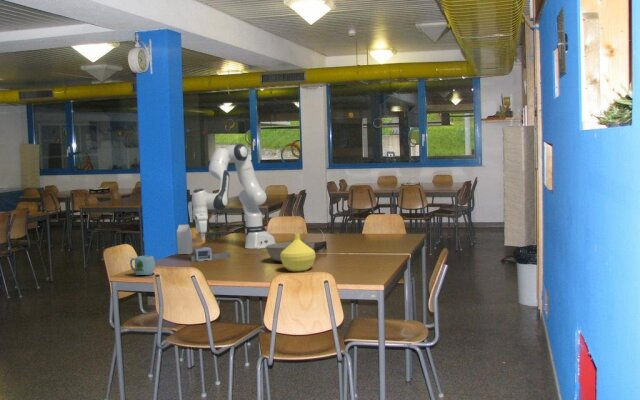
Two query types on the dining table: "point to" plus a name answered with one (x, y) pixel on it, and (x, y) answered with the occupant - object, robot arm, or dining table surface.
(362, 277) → the dining table surface
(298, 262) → the vase
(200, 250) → the pale blue storage bin
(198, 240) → the block
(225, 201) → the robot arm
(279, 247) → the bowl
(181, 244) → the milk carton
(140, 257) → the mug
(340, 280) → the dining table surface
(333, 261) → the dining table surface
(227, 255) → the rod
